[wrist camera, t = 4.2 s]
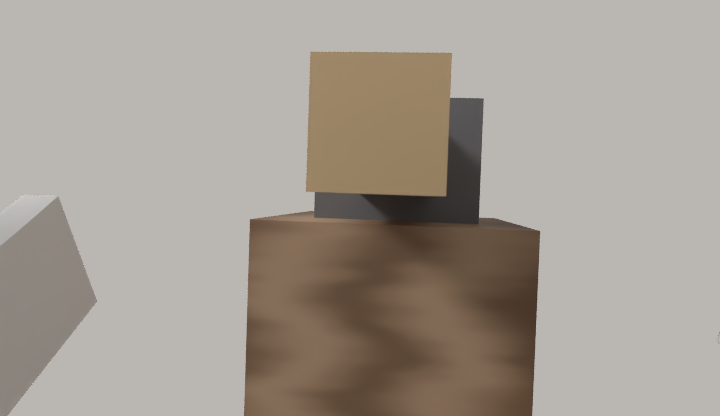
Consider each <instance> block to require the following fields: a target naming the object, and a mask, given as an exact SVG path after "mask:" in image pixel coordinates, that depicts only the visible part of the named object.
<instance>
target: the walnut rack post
mask: <svg viewBox="0 0 720 416" xmlns="http://www.w3.org/2000/svg"><path fill="white" fill-rule="evenodd" d="M249 242H250V243H249V274H248V307H247V341H246V374H245V375H246V376H245V406H244V408H245V409H244V416H532V405H533V381H534V359H535V336H536V311H537V288H538V266H539V242H540V231H537V230H534V229H531V228H527V227H523V226H520V225H516V224H513V223H509V222H506V221H502V220H499V219H495V218H479V224H462V223H436V222H411V221H386V220H361V219H336V218H314V211H309V212H301V213H294V214H287V215H279V216H273V217H272V216H271V217H264V218H257V219H250V240H249Z"/></svg>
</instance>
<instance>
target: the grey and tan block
mask: <svg viewBox="0 0 720 416" xmlns="http://www.w3.org/2000/svg"><path fill="white" fill-rule="evenodd" d="M451 59H452V53H388V52H384V53H382V52H379V53H378V52H311V57H310V87H309V117H308V148H307V181H306V191H308V192H309V191H310V192H315V208H314V218H336V219H361V220H386V221H411V222H436V223H462V224H479V197H480V174H481V148H482V124H483V100H484V99H479V98H450V84H451Z"/></svg>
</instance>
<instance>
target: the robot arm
mask: <svg viewBox="0 0 720 416" xmlns="http://www.w3.org/2000/svg"><path fill="white" fill-rule="evenodd" d="M96 302H97V300H96V297H95V295H94V292H93V289H92V287H91V284H90V281H89V278H88V276H87V274H86V270H85V268H84V265H83V262H82V260H81V257H80V254H79V251H78V249H77V246H76V243H75V241H74V238H73V235H72V232H71V230H70V227H69V224H68V221H67V219H66V216H65V213H64V211H63V208H62V205H61V202H60V200H59V197H58V196H39V195H22V196H21V197H20V198H18V199H17V200H16V201H14V202H13V203H12V204H11V205H9V206H8V207H7V208H5V209H4V210H3V211H2V212H1V213H0V416H7V415H8V414H9V413H10V412H11V410H12V409H13V408H14V406H15V405H16V404H17V403H18V401H19V400H20V399H21V397H22V396H23V395H24V394H25V392H26V391H27V390H28V389H29V387H30V386H31V385H32V383H33V382H34V381H35V380H36V378H37V377H38V376H39V374H40V373H41V372H42V371H43V369H44V368H45V367H46V366H47V364H48V363H49V362H50V361H51V359H52V358H53V357H54V355H55V354H56V353H57V352H58V350H59V349H60V348H61V347H62V345H63V344H64V343H65V341H66V340H67V339H68V338H69V336H70V335H71V334H72V333H73V331H74V330H75V329H76V327H77V326H78V325H79V324H80V322H81V321H82V320H83V318H84V317H85V316H86V315H87V313H88V312H89V310H91V308H92V307H93V306H94V305H95V303H96ZM717 342H718V343H719V345H720V333H719V335H718V337H717Z"/></svg>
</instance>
